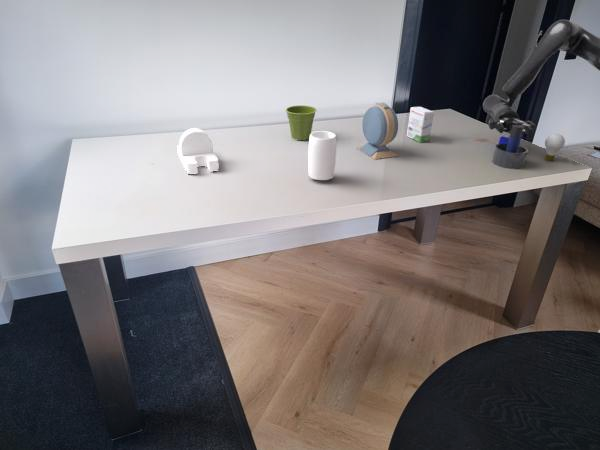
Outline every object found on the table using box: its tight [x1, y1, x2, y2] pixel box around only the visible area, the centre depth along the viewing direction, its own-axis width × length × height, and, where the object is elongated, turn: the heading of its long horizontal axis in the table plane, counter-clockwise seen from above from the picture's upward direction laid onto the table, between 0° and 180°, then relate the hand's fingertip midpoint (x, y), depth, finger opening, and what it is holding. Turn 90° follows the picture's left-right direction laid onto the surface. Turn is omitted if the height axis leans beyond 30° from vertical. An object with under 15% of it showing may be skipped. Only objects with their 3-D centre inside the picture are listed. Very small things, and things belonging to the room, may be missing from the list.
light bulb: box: [544, 133, 566, 162], centre depth 149 cm, size 6×6×10 cm
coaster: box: [471, 137, 494, 144], centre depth 168 cm, size 8×8×1 cm
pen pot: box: [491, 143, 529, 170], centre depth 146 cm, size 10×10×6 cm
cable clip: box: [498, 132, 524, 145], centre depth 159 cm, size 12×4×6 cm, turn 132°
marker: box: [506, 125, 523, 153], centre depth 144 cm, size 3×3×13 cm
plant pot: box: [285, 104, 318, 141], centre depth 165 cm, size 12×12×11 cm
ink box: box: [406, 106, 435, 143], centre depth 167 cm, size 8×5×12 cm, turn 27°
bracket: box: [176, 127, 220, 174], centre depth 141 cm, size 19×10×11 cm, turn 24°
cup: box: [307, 130, 337, 181], centre depth 131 cm, size 8×8×14 cm
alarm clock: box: [356, 102, 399, 160], centre depth 152 cm, size 14×10×18 cm
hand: (516, 131), depth 143 cm, fingers open, 8 cm apart
